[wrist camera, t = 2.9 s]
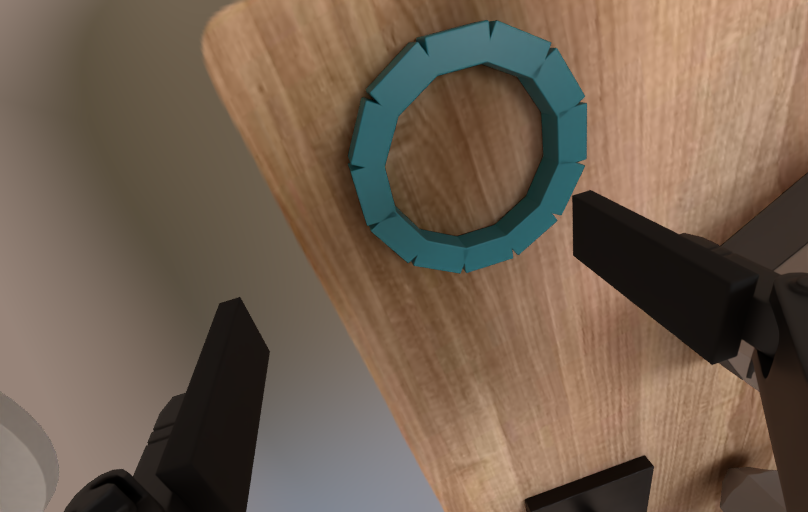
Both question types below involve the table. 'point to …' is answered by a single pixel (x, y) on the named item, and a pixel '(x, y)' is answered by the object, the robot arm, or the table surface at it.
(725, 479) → the bottle
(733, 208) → the table surface
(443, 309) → the table surface
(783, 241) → the alarm clock
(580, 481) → the post
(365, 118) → the ring
